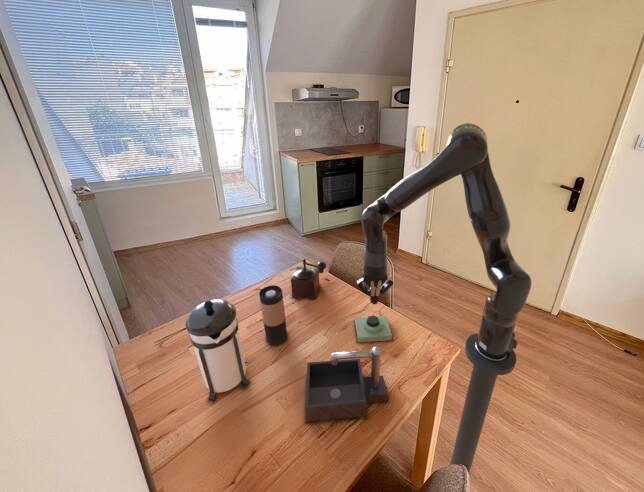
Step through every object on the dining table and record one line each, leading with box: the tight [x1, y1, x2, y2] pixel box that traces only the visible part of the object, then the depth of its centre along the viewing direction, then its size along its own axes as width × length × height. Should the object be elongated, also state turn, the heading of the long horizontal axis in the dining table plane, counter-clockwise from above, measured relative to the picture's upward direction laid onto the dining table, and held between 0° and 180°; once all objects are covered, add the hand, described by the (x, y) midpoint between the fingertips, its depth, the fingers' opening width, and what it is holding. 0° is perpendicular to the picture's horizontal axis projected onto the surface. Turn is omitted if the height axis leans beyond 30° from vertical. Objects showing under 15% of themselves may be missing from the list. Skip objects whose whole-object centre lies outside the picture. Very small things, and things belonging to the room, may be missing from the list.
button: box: [367, 315, 379, 327], centre depth 106 cm, size 4×4×2 cm
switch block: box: [354, 315, 393, 343], centre depth 107 cm, size 12×10×4 cm
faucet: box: [330, 346, 382, 388], centre depth 81 cm, size 14×3×14 cm, turn 94°
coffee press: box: [185, 298, 250, 402], centre depth 85 cm, size 17×16×30 cm
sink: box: [305, 358, 388, 423], centre depth 84 cm, size 22×14×6 cm, turn 94°
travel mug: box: [258, 285, 288, 346], centre depth 102 cm, size 8×8×20 cm
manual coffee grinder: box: [290, 258, 327, 300], centre depth 126 cm, size 16×11×18 cm
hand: (374, 302), depth 103 cm, fingers closed
